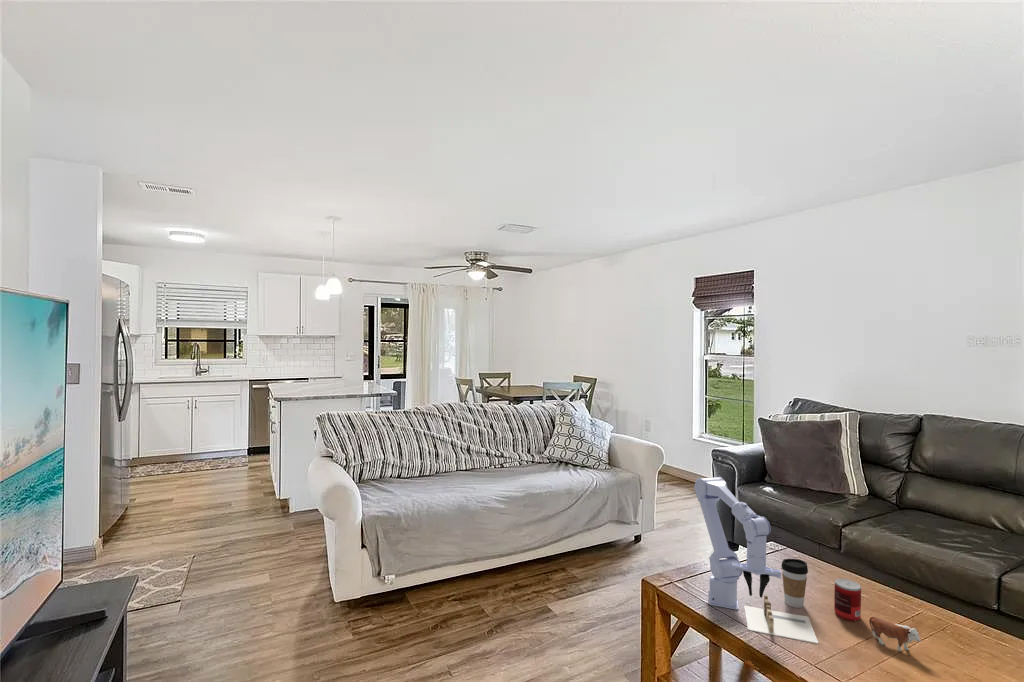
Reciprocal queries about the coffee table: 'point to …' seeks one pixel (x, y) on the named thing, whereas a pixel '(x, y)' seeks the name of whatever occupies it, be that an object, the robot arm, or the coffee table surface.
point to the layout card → (780, 624)
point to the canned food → (847, 599)
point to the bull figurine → (893, 632)
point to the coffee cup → (794, 581)
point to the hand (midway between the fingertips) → (755, 595)
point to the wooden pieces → (766, 603)
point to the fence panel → (769, 618)
